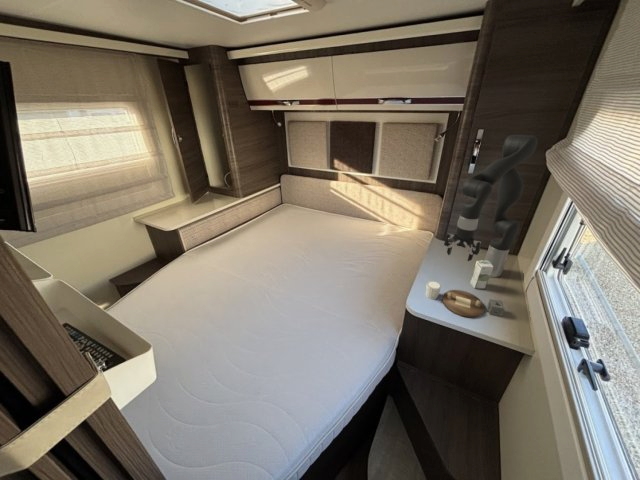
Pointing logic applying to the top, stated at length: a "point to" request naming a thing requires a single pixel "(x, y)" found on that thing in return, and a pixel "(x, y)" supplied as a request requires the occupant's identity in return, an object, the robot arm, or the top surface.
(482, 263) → the syrup box
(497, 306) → the dice cube
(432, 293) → the white cup
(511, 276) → the top surface
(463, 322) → the top surface
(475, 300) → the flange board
